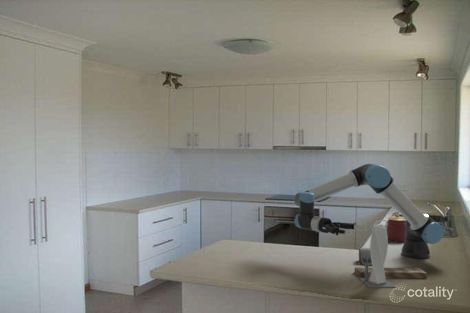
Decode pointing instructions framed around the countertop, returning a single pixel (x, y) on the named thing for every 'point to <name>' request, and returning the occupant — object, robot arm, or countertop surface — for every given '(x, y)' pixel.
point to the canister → (396, 228)
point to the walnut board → (395, 272)
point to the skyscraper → (377, 254)
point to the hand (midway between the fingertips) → (359, 231)
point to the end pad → (378, 285)
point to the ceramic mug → (364, 255)
